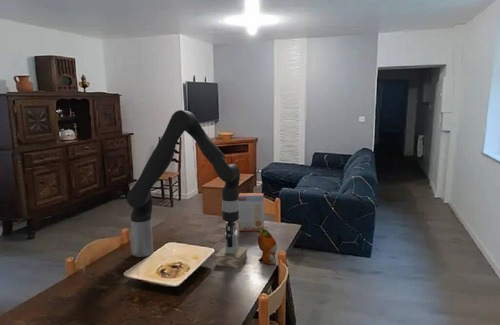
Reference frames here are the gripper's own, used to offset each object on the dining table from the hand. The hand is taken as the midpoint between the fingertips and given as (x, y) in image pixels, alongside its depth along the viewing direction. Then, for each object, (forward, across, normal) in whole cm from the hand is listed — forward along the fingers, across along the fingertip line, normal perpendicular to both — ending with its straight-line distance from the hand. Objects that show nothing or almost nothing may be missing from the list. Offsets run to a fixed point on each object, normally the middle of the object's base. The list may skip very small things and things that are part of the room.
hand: (231, 243), depth 166 cm
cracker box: (+9, -41, +6) cm, 42 cm away
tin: (+4, 0, 0) cm, 4 cm away
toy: (+9, -1, +16) cm, 19 cm away
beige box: (+9, 0, 0) cm, 9 cm away
